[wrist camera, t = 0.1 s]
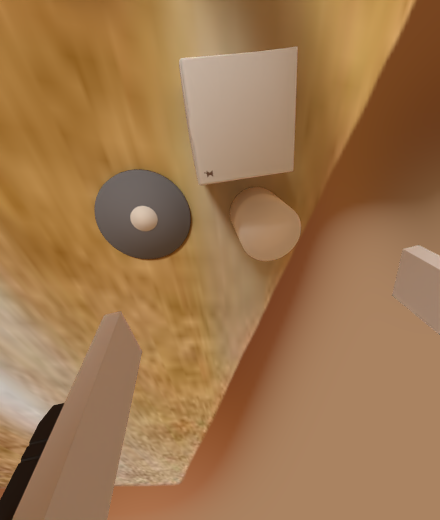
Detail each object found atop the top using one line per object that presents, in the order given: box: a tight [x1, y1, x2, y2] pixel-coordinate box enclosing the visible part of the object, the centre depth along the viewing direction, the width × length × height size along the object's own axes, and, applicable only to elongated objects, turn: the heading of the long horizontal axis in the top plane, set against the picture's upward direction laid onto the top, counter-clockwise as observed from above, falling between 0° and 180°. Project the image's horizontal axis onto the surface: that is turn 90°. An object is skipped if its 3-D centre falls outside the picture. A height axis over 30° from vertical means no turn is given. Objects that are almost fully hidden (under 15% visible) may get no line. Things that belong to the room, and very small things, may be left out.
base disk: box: [95, 170, 190, 259], centre depth 36 cm, size 14×14×1 cm
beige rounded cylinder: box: [230, 187, 301, 261], centre depth 34 cm, size 8×8×9 cm
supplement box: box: [179, 46, 298, 185], centre depth 25 cm, size 9×9×15 cm
